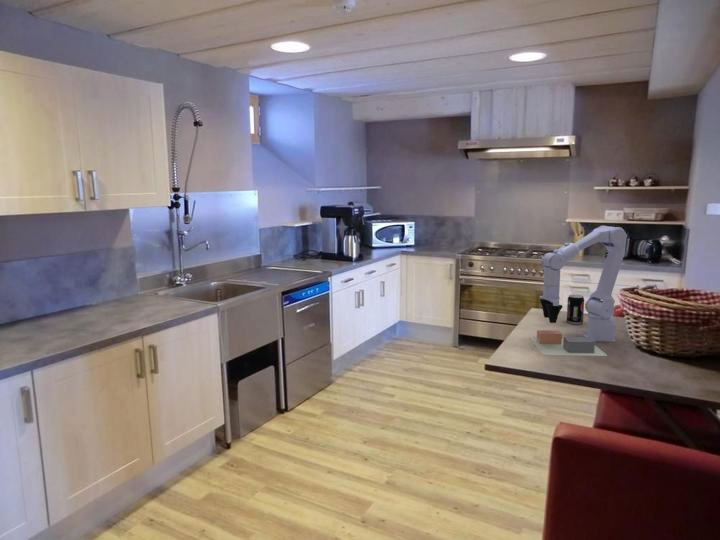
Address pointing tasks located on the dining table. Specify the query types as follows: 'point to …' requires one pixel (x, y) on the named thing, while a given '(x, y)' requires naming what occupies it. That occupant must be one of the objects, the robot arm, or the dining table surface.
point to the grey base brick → (578, 344)
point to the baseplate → (562, 349)
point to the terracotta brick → (549, 337)
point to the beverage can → (575, 309)
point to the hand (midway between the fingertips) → (549, 320)
